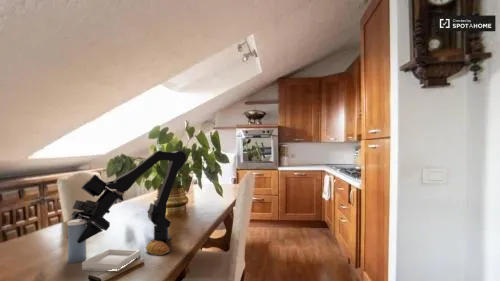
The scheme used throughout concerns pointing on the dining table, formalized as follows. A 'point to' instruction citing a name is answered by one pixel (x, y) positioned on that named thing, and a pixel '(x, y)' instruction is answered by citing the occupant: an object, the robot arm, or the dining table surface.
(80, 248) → the blue cylindrical canister
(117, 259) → the tray
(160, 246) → the pastry
